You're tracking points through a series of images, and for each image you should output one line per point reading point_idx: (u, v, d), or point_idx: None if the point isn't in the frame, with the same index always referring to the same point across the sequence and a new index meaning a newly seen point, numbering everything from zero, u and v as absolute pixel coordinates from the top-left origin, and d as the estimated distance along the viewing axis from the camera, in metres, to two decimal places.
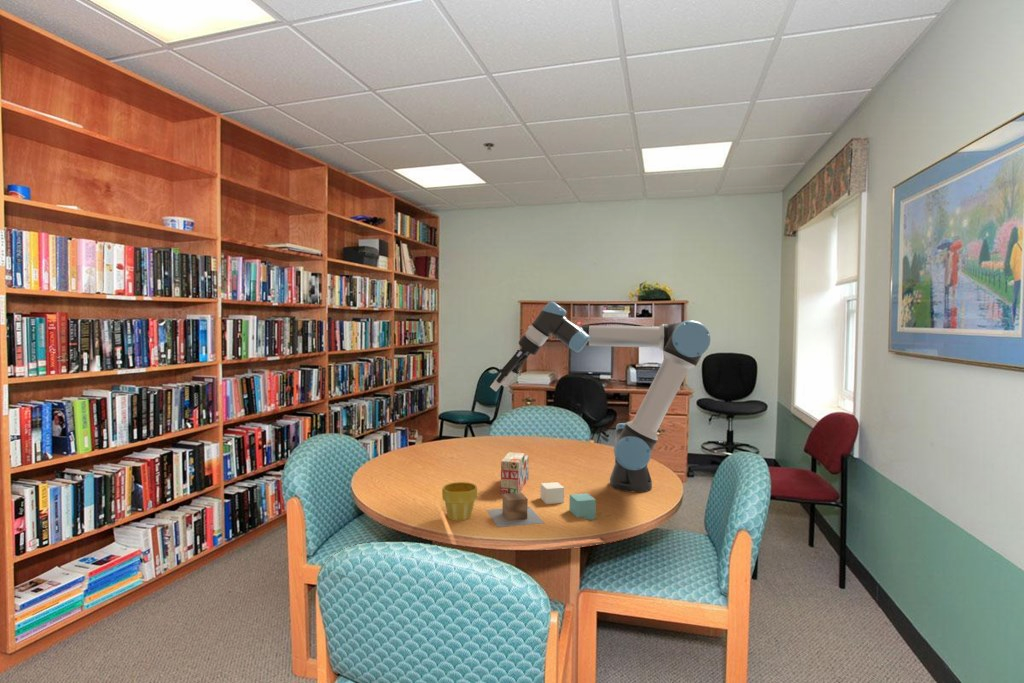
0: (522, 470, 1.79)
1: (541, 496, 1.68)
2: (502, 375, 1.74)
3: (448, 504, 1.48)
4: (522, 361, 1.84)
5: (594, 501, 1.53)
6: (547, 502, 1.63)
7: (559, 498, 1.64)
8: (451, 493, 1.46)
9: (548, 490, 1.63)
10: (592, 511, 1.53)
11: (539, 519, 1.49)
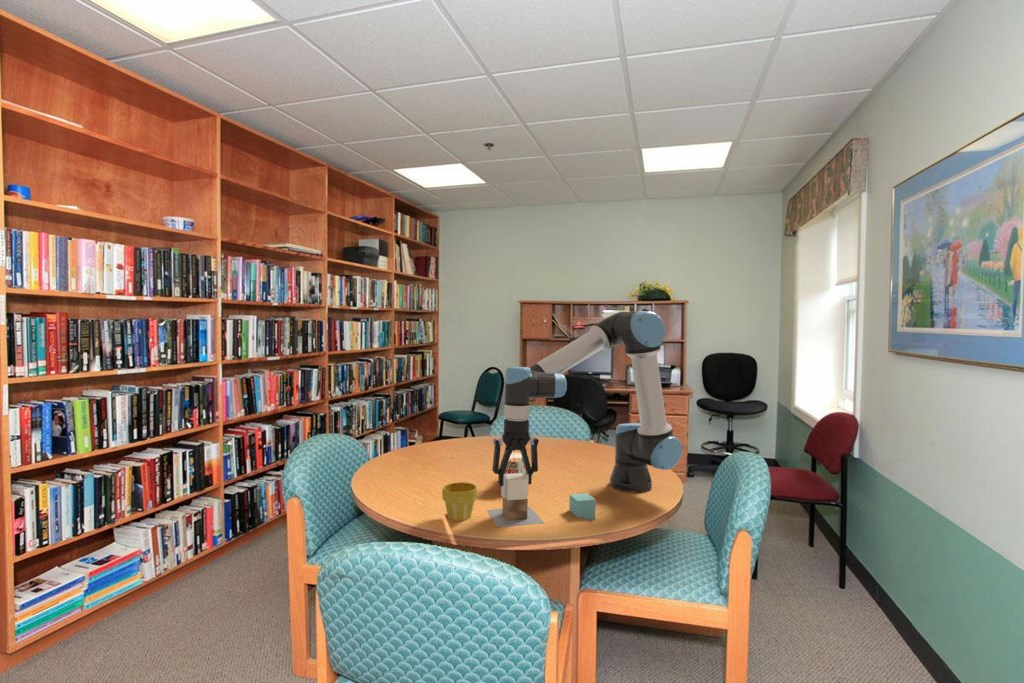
0: (522, 469, 1.80)
1: None
2: (498, 475, 1.50)
3: (448, 504, 1.48)
4: (521, 449, 1.50)
5: (594, 501, 1.53)
6: (508, 495, 1.48)
7: (522, 490, 1.49)
8: (451, 493, 1.46)
9: (510, 481, 1.48)
10: (592, 511, 1.53)
11: (539, 519, 1.49)
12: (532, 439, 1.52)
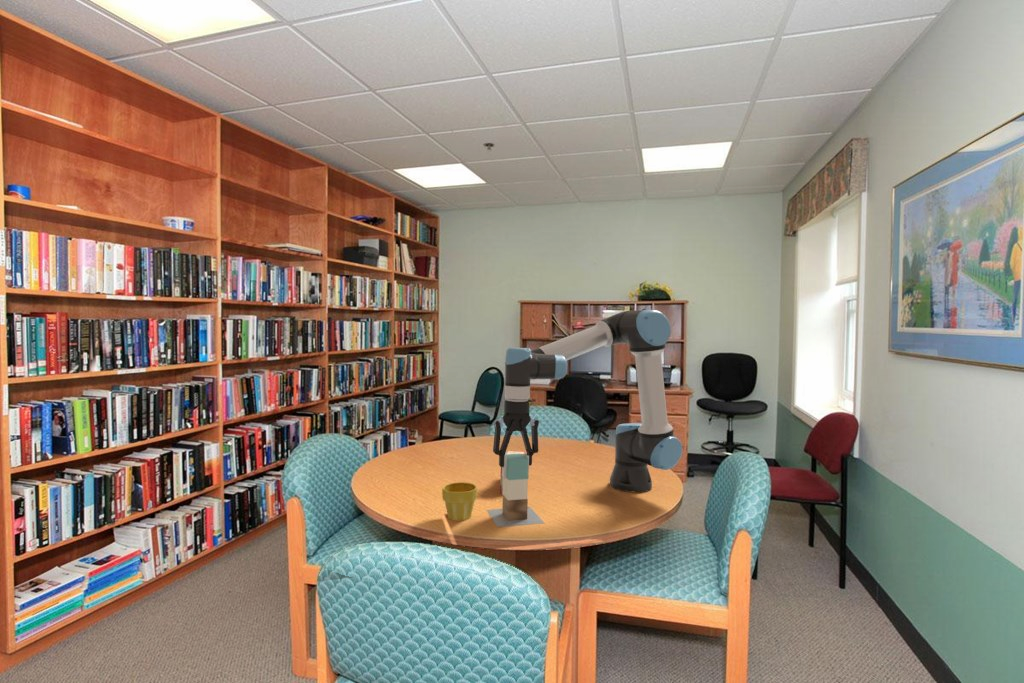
0: None
1: (503, 488, 1.52)
2: (499, 456, 1.50)
3: (448, 504, 1.48)
4: (522, 430, 1.50)
5: (527, 460, 1.49)
6: (508, 495, 1.48)
7: (522, 490, 1.49)
8: (451, 493, 1.46)
9: (510, 481, 1.48)
10: (525, 470, 1.49)
11: (539, 519, 1.49)
12: (532, 420, 1.52)
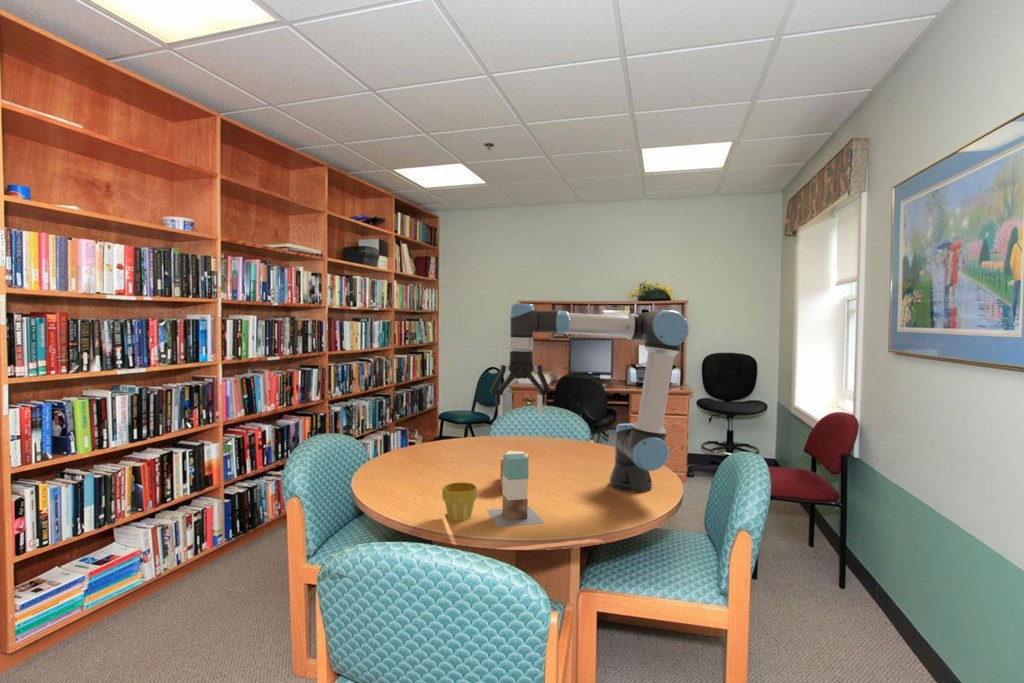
0: None
1: (503, 488, 1.52)
2: (496, 396, 1.66)
3: (448, 504, 1.48)
4: (528, 376, 1.67)
5: (527, 460, 1.49)
6: (508, 495, 1.48)
7: (522, 490, 1.49)
8: (451, 493, 1.46)
9: (510, 481, 1.48)
10: (525, 470, 1.49)
11: (539, 519, 1.49)
12: (535, 367, 1.69)
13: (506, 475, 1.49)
